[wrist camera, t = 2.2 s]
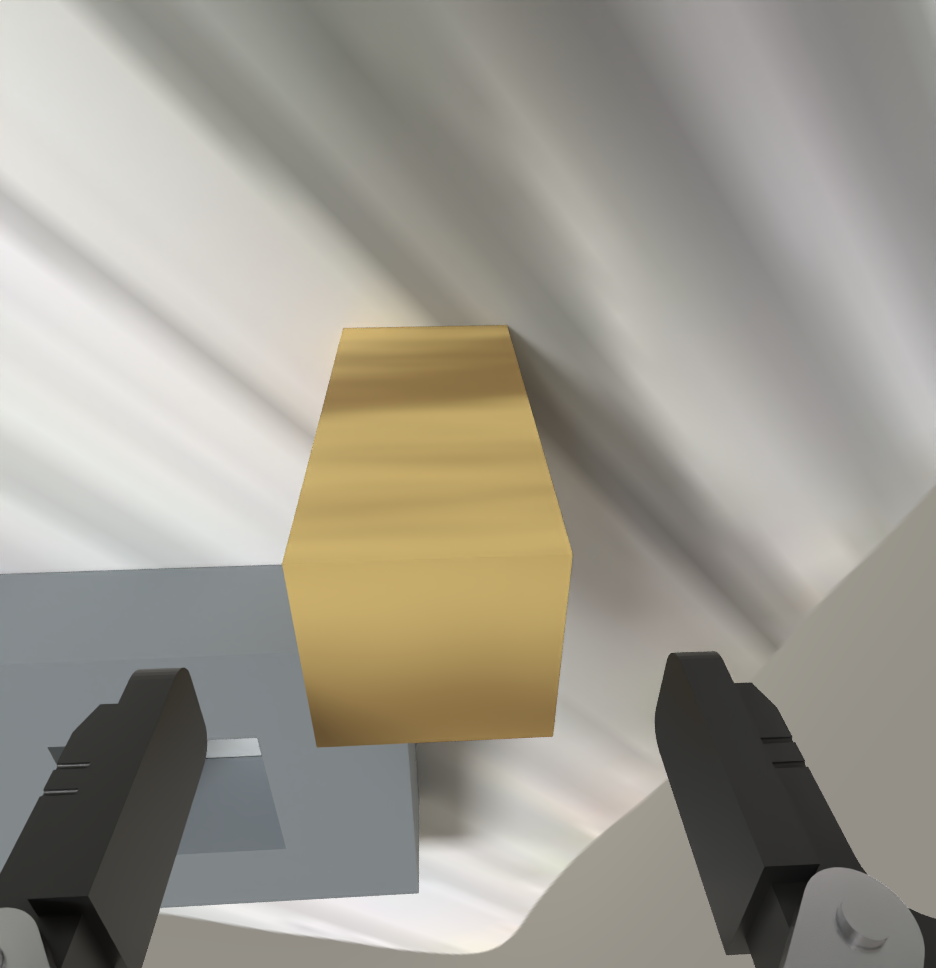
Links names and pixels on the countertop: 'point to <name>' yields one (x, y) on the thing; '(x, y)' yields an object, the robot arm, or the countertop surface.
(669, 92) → the countertop surface
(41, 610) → the hole block
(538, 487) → the peg
